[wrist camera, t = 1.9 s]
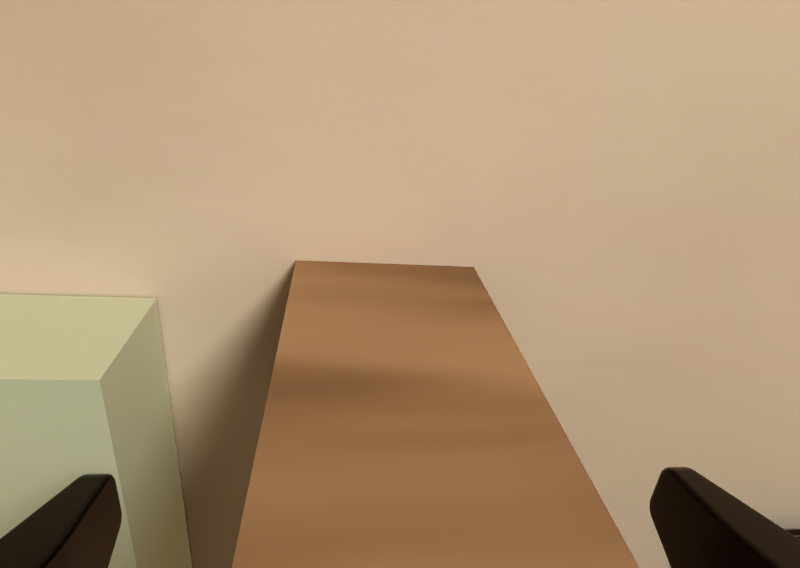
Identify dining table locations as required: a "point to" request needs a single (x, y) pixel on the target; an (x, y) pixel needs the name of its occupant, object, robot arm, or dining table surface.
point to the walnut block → (412, 435)
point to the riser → (91, 417)
